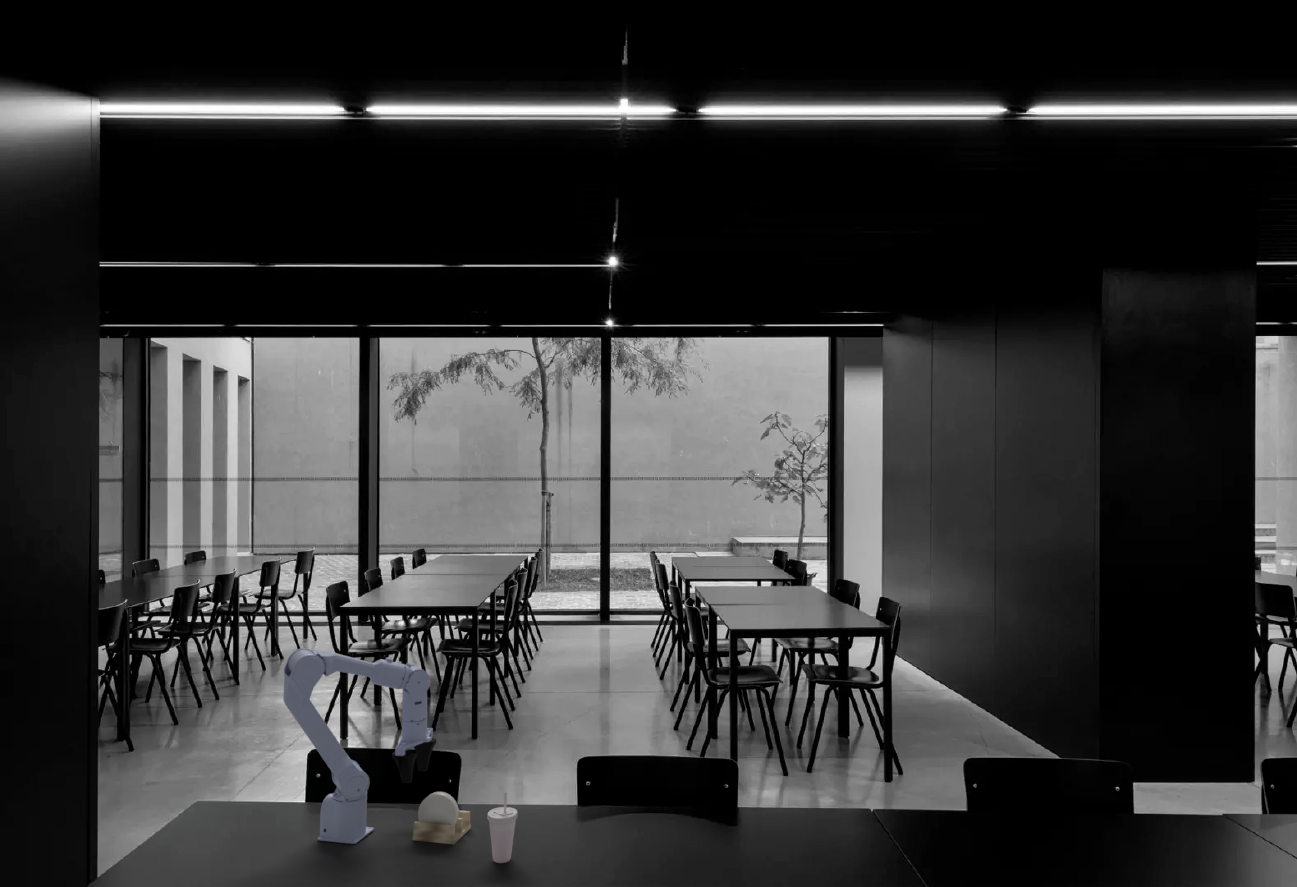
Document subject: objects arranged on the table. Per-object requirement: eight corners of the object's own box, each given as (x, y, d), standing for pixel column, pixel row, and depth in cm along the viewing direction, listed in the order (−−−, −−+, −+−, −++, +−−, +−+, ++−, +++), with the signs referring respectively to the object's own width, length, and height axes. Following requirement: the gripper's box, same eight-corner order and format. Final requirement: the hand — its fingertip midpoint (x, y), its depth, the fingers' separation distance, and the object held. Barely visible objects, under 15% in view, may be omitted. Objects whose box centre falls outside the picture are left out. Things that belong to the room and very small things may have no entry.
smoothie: (510, 867, 168) (511, 798, 169) (481, 864, 170) (482, 796, 170) (521, 853, 175) (522, 787, 175) (493, 851, 176) (494, 785, 177)
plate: (417, 834, 182) (418, 793, 183) (421, 830, 184) (422, 790, 185) (454, 838, 180) (455, 796, 181) (458, 834, 182) (459, 793, 183)
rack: (412, 840, 181) (412, 822, 181) (431, 824, 190) (431, 807, 190) (453, 844, 179) (454, 827, 179) (470, 828, 188) (471, 811, 188)
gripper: (415, 728, 184) (415, 789, 184) (444, 710, 198) (444, 767, 198) (386, 727, 186) (386, 787, 185) (417, 709, 200) (417, 765, 199)
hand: (414, 776), depth 192 cm, fingers open, 7 cm apart
